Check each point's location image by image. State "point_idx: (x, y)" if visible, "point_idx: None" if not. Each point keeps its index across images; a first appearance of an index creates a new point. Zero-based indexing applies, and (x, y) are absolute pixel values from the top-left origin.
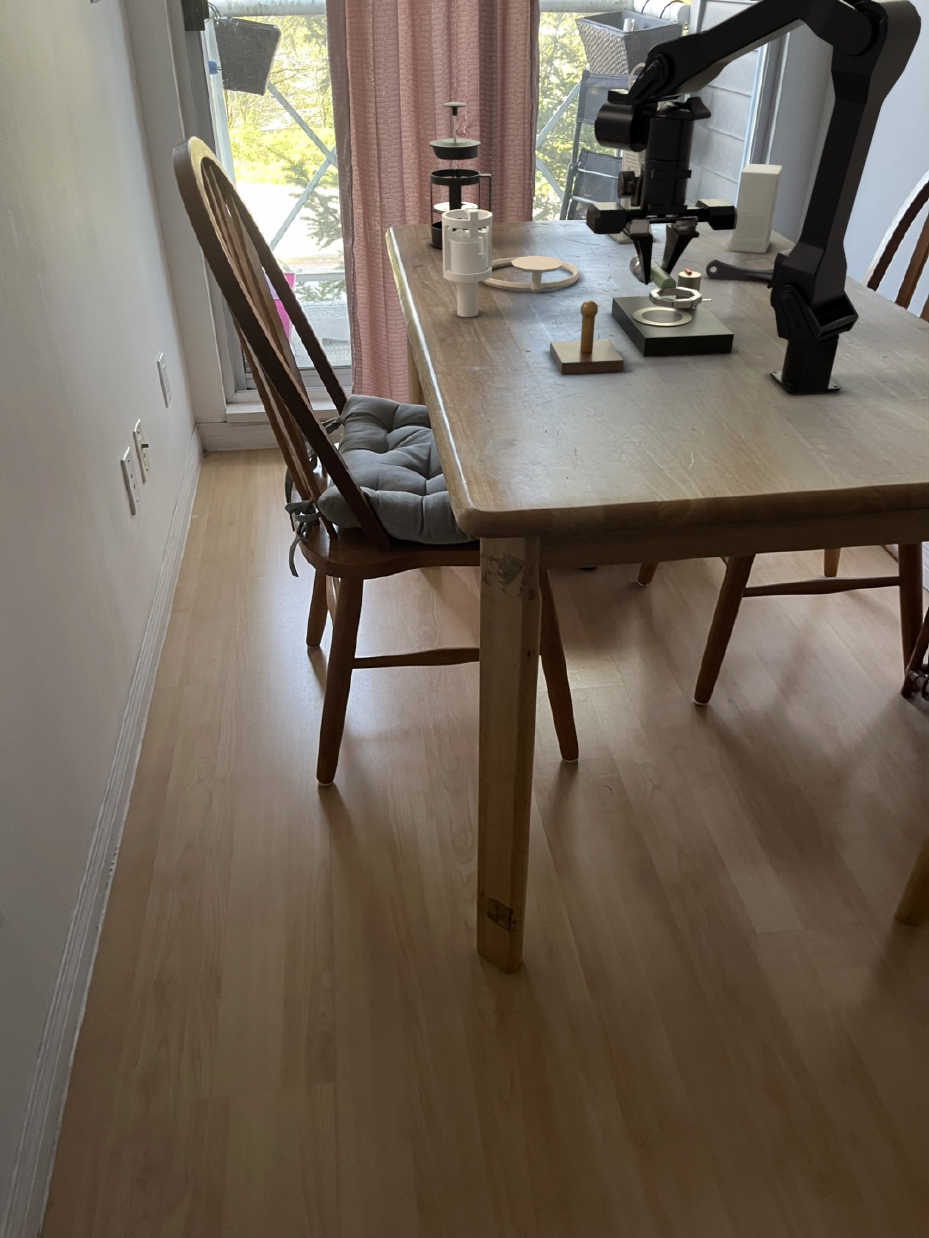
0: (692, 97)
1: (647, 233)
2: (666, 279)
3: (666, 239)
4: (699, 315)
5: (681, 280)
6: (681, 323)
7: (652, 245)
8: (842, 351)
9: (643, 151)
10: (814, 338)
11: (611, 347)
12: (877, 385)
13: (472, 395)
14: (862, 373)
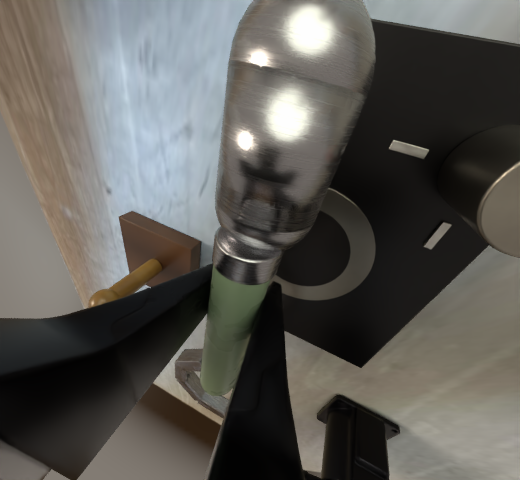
0: None
1: (45, 469)
2: (203, 387)
3: (221, 432)
4: (392, 283)
5: (469, 206)
6: (308, 297)
7: (118, 425)
8: None
9: None
10: None
11: (185, 273)
12: (429, 465)
13: (79, 262)
14: (457, 457)
